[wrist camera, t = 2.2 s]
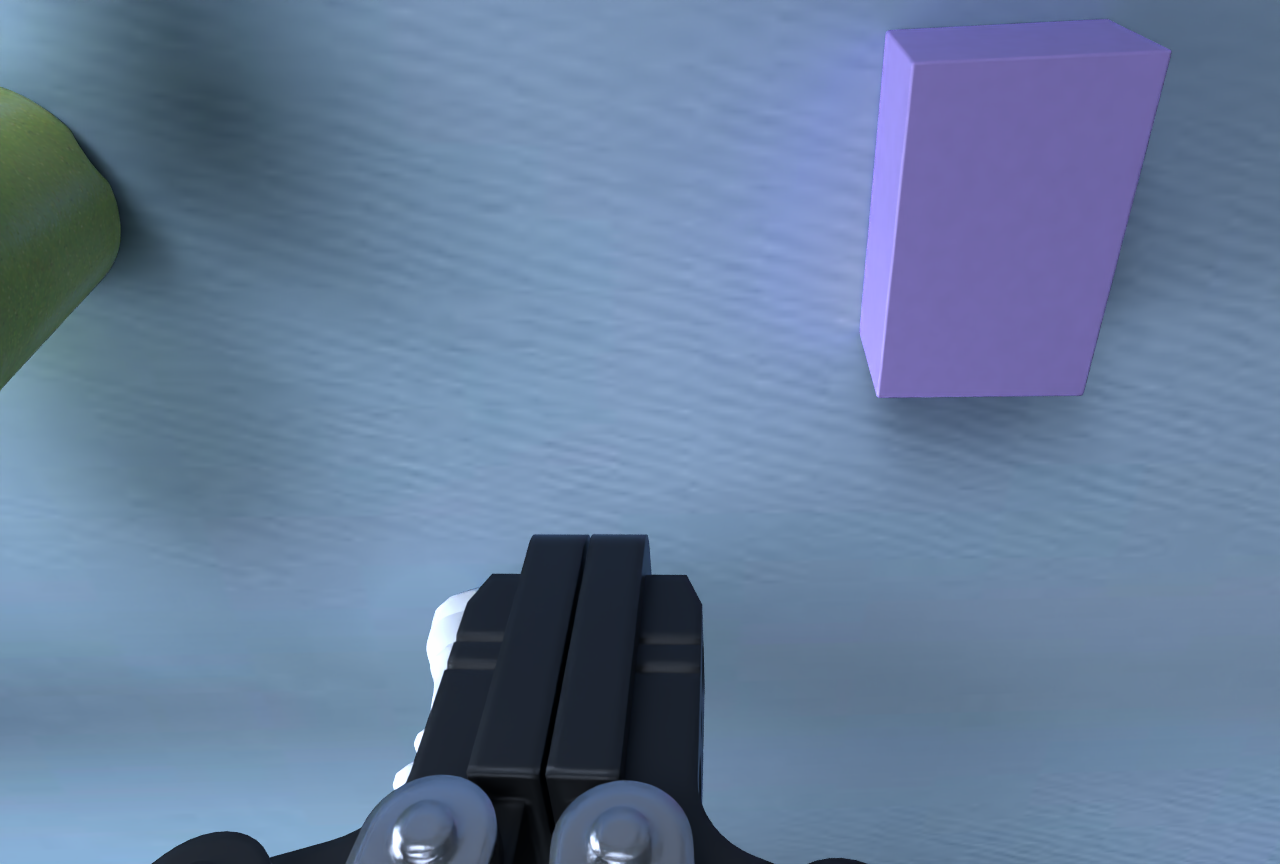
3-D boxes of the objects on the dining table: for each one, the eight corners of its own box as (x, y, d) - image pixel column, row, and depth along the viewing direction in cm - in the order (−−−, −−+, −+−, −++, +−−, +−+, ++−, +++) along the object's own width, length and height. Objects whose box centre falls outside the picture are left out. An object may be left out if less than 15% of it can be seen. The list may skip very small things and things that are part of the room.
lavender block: (885, 29, 21) (911, 62, 18) (1109, 18, 20) (1174, 49, 17) (858, 333, 25) (876, 399, 22) (1041, 330, 25) (1083, 397, 22)
